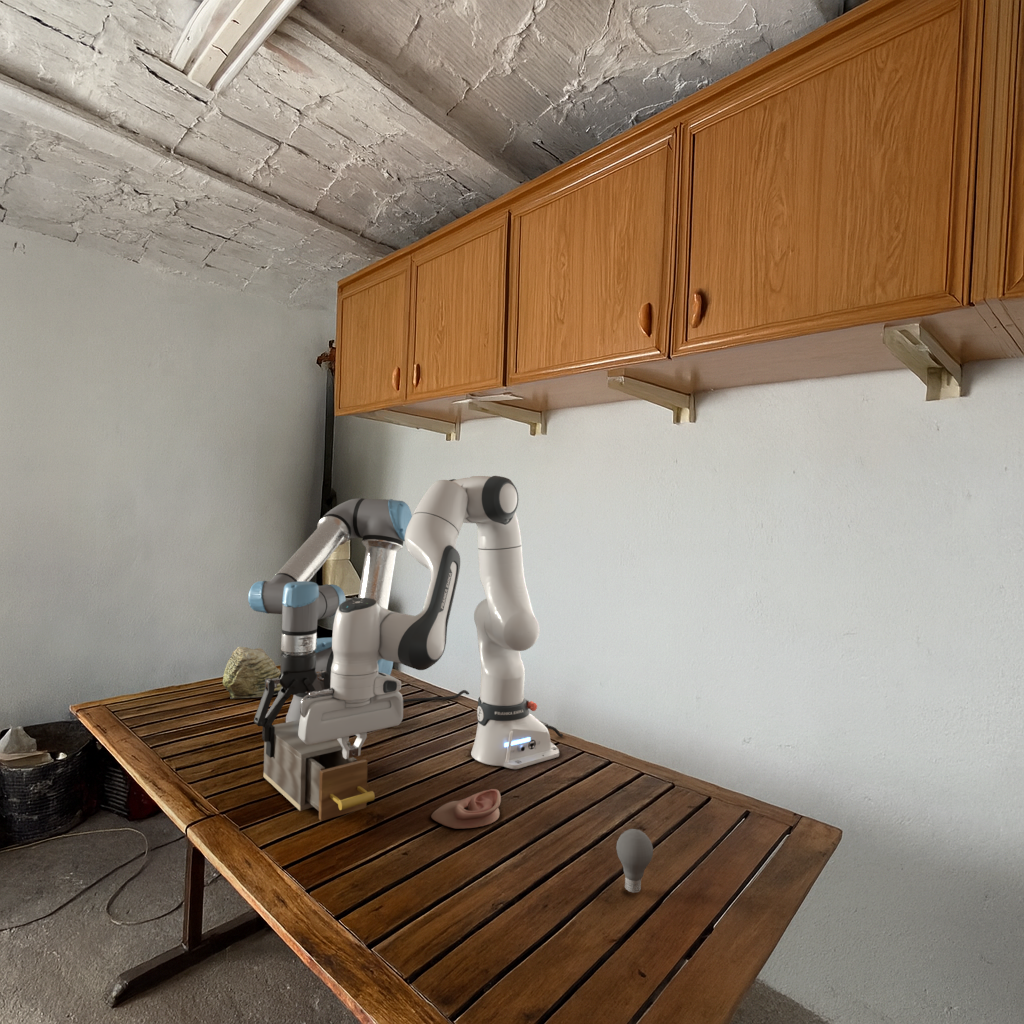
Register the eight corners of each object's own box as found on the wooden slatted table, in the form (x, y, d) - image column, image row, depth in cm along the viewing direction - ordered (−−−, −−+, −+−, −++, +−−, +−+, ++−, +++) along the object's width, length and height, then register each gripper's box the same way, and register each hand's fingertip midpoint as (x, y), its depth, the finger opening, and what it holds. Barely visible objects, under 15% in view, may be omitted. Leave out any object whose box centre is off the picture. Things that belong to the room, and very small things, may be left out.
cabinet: (349, 796, 133) (351, 742, 133) (300, 811, 126) (301, 754, 126) (309, 765, 149) (310, 717, 149) (263, 776, 142) (264, 726, 142)
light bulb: (610, 879, 108) (613, 822, 108) (644, 879, 109) (647, 822, 109) (619, 902, 102) (622, 840, 102) (655, 901, 103) (658, 840, 103)
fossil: (218, 695, 195) (220, 647, 195) (278, 685, 208) (279, 640, 207) (228, 703, 189) (230, 653, 188) (289, 692, 201) (290, 645, 201)
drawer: (380, 818, 122) (381, 770, 122) (334, 833, 115) (335, 782, 116) (324, 775, 141) (325, 733, 141) (282, 786, 135) (283, 743, 135)
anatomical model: (426, 804, 124) (444, 779, 135) (425, 824, 124) (443, 798, 135) (492, 814, 121) (505, 787, 132) (491, 834, 121) (504, 806, 133)
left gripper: (251, 661, 131) (247, 767, 132) (354, 648, 146) (350, 743, 147) (239, 654, 137) (236, 755, 137) (340, 642, 152) (336, 733, 152)
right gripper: (307, 698, 112) (304, 775, 112) (408, 680, 125) (405, 750, 125) (294, 689, 116) (291, 763, 117) (392, 673, 130) (389, 740, 130)
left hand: (295, 749), depth 142 cm, fingers closed on cabinet, 11 cm apart
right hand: (351, 756), depth 121 cm, fingers closed
